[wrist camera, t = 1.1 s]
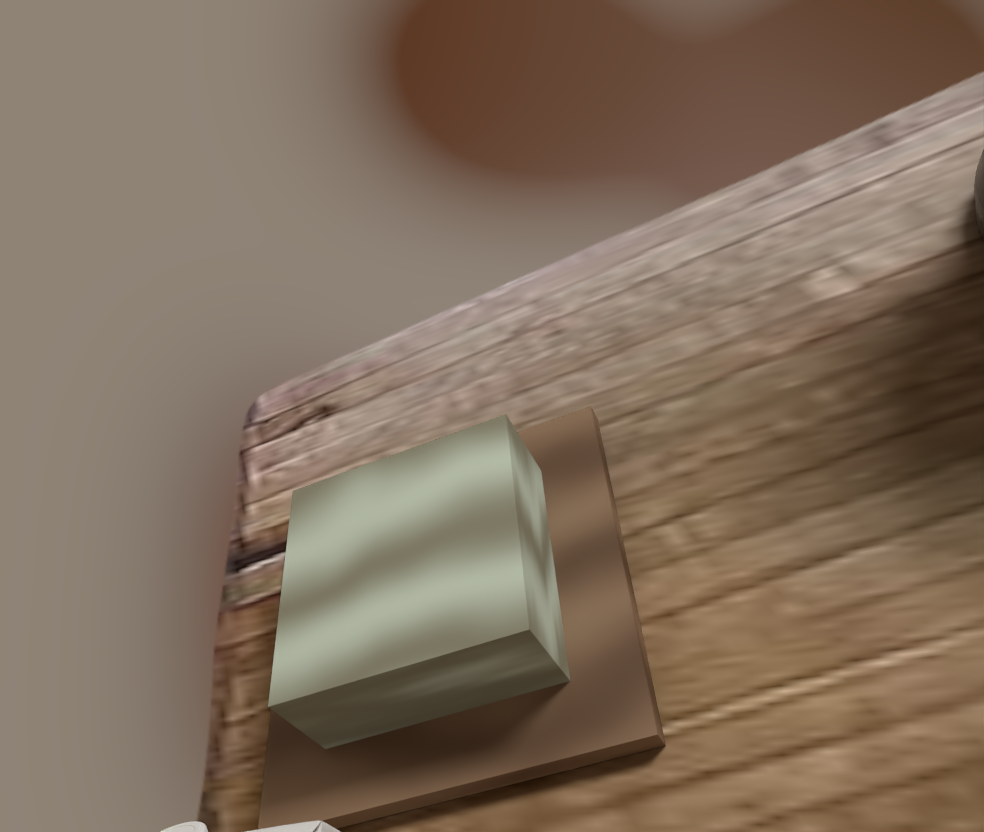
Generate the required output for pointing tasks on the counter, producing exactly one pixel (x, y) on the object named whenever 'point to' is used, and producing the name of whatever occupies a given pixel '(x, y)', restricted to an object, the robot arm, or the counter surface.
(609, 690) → the tower base
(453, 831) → the counter surface
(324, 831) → the milk carton
